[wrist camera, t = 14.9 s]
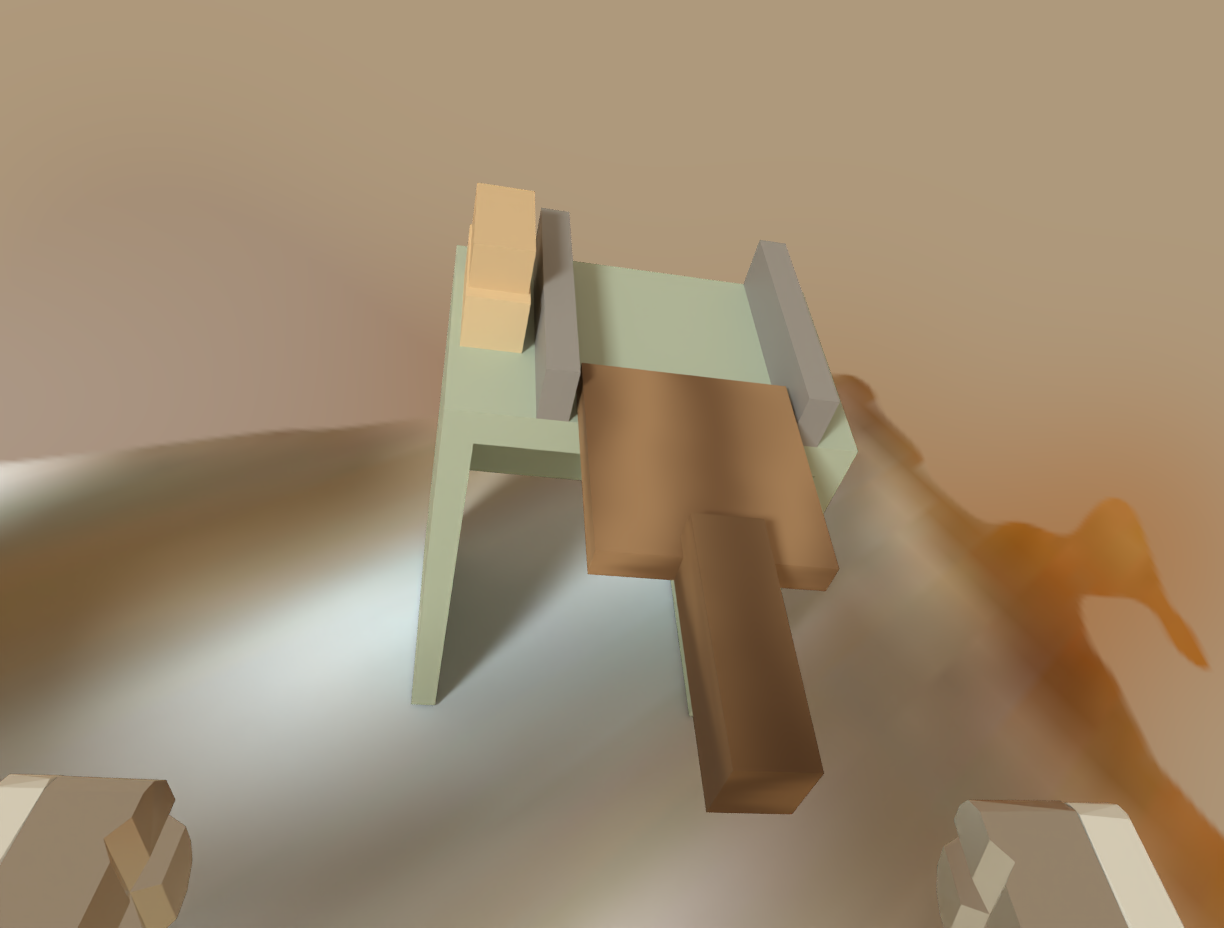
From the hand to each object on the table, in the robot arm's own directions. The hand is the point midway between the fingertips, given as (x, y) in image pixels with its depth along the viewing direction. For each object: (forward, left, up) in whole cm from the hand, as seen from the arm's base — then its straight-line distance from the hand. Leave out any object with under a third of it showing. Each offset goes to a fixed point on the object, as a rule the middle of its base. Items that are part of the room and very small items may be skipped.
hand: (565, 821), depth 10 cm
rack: (+9, +34, -46) cm, 58 cm away
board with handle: (+10, +19, -20) cm, 29 cm away
